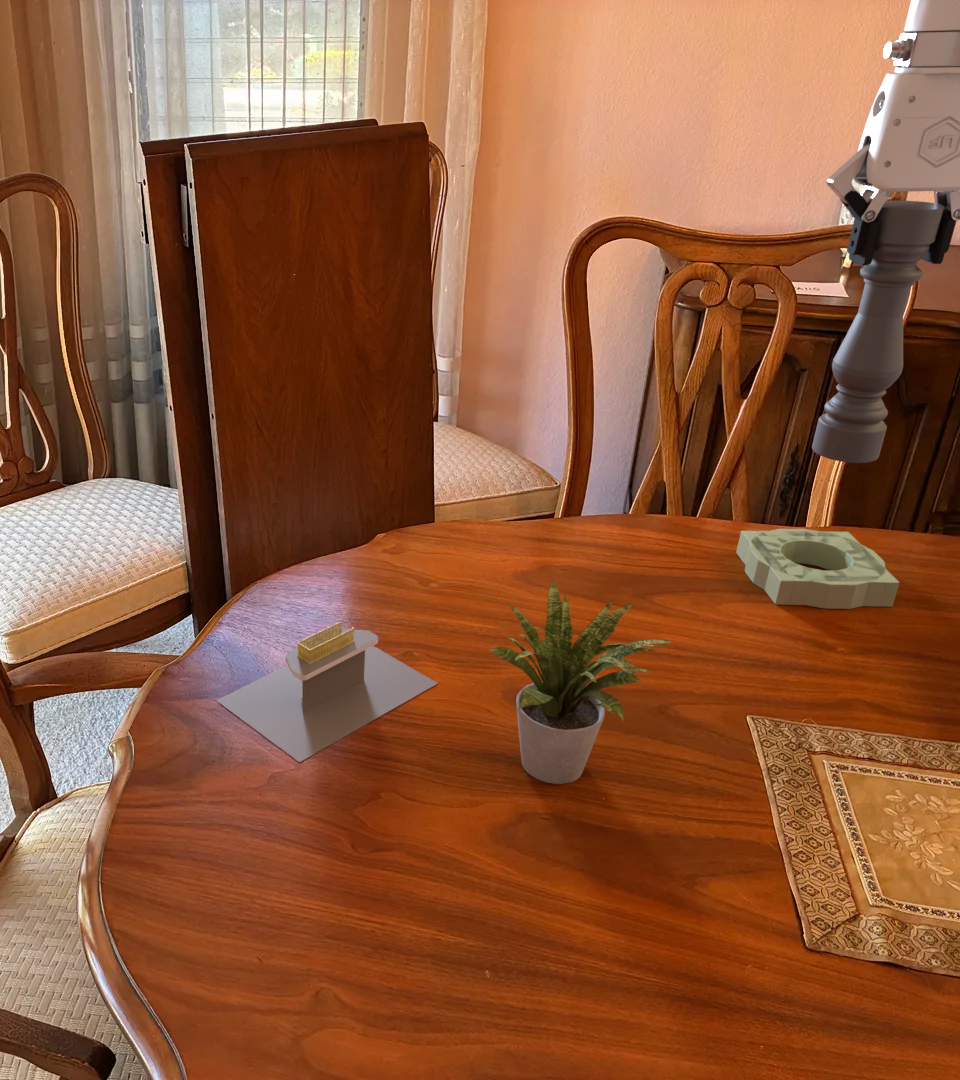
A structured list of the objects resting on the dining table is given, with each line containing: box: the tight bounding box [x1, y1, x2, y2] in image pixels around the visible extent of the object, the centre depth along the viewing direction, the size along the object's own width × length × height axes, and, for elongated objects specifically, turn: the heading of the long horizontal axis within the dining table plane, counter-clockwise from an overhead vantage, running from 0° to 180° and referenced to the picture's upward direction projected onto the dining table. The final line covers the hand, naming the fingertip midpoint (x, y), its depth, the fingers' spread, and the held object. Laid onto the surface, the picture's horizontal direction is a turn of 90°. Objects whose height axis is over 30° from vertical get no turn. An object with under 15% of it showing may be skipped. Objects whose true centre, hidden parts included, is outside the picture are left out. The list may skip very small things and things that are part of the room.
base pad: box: [735, 528, 900, 610], centre depth 112 cm, size 13×13×3 cm
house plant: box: [488, 578, 677, 785], centre depth 81 cm, size 14×14×16 cm
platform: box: [216, 620, 438, 763], centre depth 95 cm, size 12×18×7 cm, turn 129°
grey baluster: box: [811, 200, 944, 464], centre depth 100 cm, size 6×6×25 cm
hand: (894, 259), depth 96 cm, fingers closed on grey baluster, 5 cm apart
